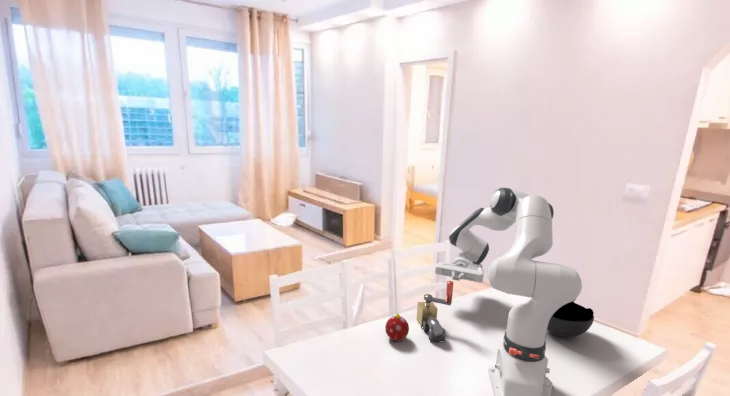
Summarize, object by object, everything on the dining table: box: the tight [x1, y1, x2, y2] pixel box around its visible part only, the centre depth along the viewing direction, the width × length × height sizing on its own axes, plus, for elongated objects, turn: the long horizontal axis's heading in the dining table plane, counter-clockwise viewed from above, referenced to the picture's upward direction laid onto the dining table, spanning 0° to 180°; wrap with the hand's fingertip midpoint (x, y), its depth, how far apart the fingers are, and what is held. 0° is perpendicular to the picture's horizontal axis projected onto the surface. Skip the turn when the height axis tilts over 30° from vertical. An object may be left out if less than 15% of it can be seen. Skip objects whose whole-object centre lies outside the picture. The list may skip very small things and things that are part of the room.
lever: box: [423, 280, 454, 307], centre depth 146 cm, size 11×3×10 cm, turn 66°
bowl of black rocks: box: [547, 298, 595, 338], centre depth 146 cm, size 20×20×19 cm
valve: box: [416, 301, 447, 343], centre depth 144 cm, size 16×6×10 cm, turn 11°
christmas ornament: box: [384, 313, 410, 342], centre depth 138 cm, size 9×9×10 cm
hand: (455, 278), depth 155 cm, fingers closed
